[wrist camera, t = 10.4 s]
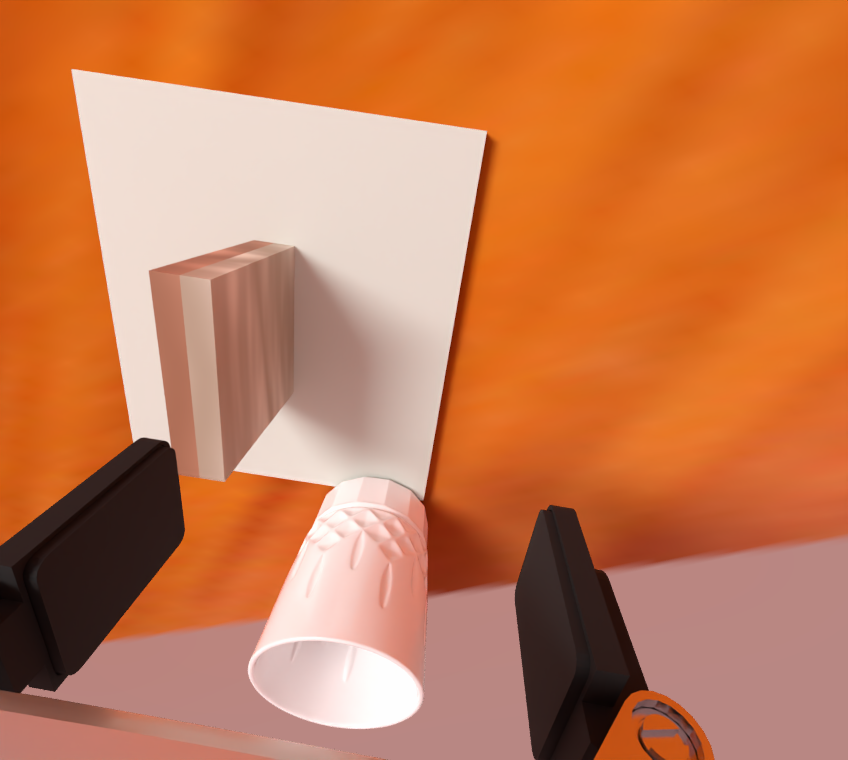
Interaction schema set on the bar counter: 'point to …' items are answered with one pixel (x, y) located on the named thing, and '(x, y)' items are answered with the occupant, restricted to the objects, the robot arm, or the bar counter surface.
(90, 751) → the robot arm
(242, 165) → the mat
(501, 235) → the bar counter surface
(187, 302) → the tile
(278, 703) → the white cup
